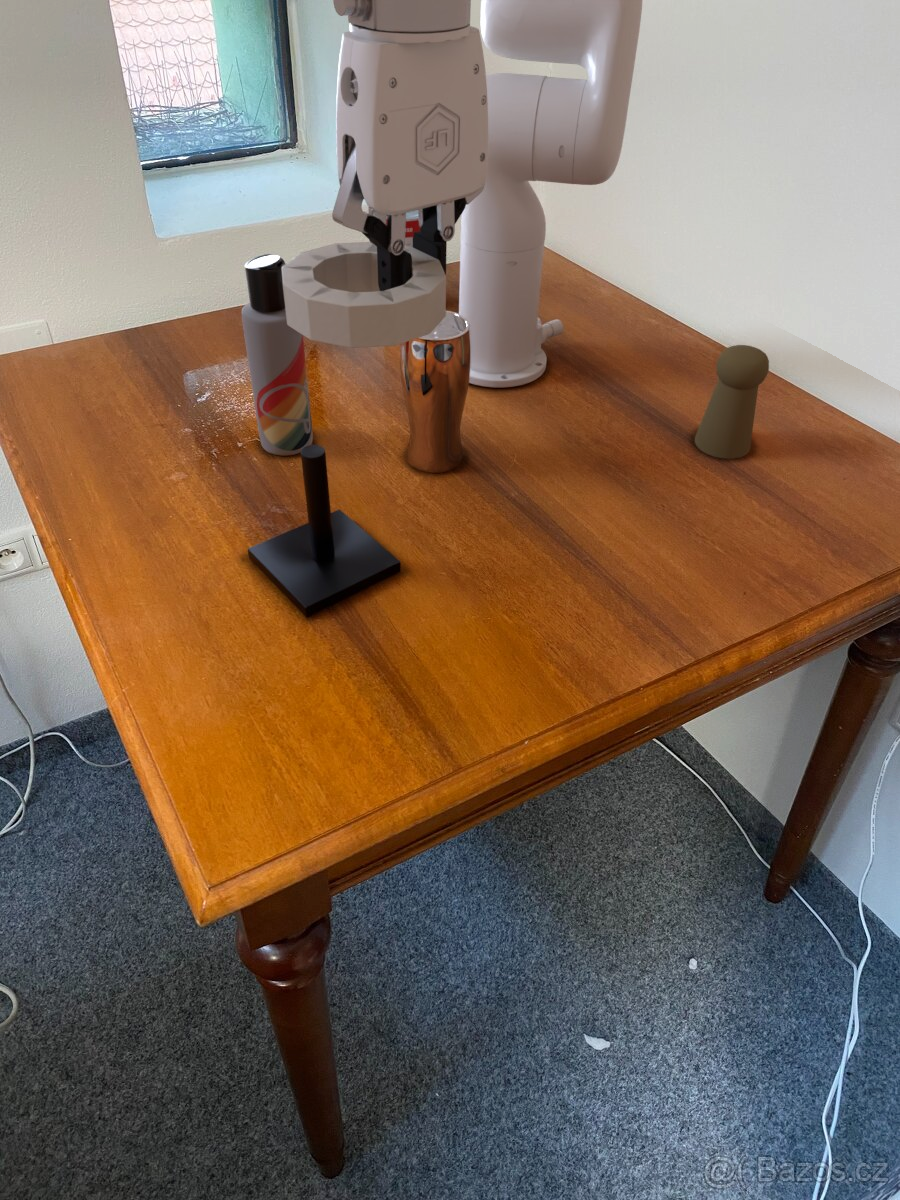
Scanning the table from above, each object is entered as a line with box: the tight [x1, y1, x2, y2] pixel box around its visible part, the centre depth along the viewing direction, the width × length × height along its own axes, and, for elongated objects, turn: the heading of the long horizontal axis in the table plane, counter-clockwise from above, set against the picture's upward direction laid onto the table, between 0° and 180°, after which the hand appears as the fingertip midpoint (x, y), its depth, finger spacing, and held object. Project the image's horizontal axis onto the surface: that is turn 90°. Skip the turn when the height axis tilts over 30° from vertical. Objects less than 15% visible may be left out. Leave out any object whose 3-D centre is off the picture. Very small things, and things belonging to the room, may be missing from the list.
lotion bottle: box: [241, 253, 314, 457], centre depth 88 cm, size 6×6×20 cm
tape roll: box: [282, 241, 447, 349], centre depth 63 cm, size 11×11×3 cm
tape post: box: [247, 444, 402, 618], centre depth 76 cm, size 10×10×12 cm
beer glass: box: [399, 310, 471, 474], centre depth 88 cm, size 7×7×15 cm
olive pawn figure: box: [694, 344, 770, 460], centre depth 93 cm, size 6×6×11 cm
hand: (412, 294), depth 66 cm, fingers closed on tape roll, 2 cm apart
